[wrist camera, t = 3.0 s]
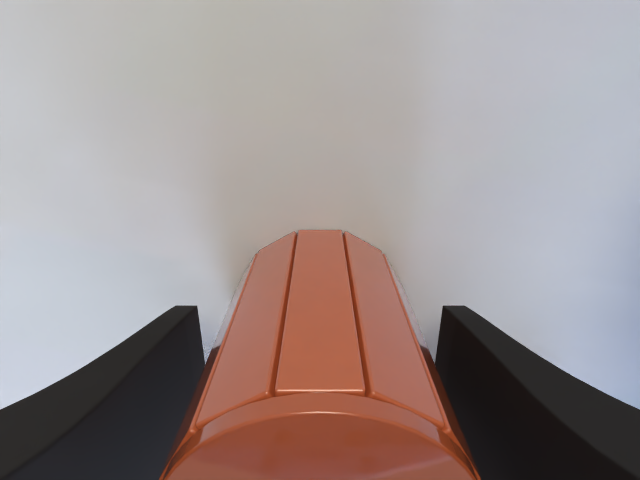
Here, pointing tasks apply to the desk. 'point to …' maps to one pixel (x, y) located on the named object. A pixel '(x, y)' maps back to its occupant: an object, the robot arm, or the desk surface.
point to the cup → (320, 376)
